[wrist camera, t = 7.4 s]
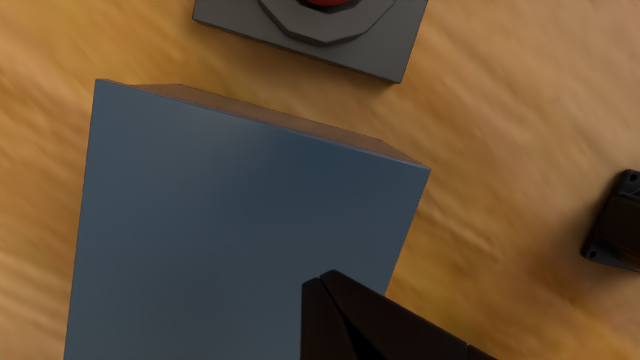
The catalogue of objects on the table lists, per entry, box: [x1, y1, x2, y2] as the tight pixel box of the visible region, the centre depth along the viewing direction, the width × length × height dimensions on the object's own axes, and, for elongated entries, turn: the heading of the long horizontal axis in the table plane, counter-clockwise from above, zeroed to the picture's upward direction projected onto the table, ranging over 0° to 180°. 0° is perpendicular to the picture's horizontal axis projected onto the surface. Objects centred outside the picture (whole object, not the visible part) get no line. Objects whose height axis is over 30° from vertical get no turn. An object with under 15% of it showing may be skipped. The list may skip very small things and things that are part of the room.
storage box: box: [131, 84, 422, 164], centre depth 17 cm, size 12×12×6 cm
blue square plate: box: [63, 79, 431, 360], centre depth 14 cm, size 12×12×1 cm
